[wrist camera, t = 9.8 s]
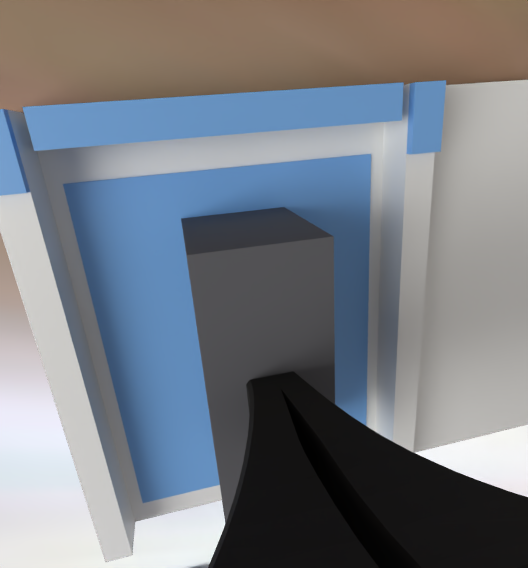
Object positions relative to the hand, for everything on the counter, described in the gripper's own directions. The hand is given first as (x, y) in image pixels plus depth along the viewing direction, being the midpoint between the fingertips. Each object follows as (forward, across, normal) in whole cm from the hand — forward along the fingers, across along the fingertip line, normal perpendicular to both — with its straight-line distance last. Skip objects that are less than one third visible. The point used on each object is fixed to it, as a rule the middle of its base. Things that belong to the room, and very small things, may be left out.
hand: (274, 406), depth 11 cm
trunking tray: (+6, -6, 0) cm, 8 cm away
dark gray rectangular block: (+4, 0, 0) cm, 5 cm away
